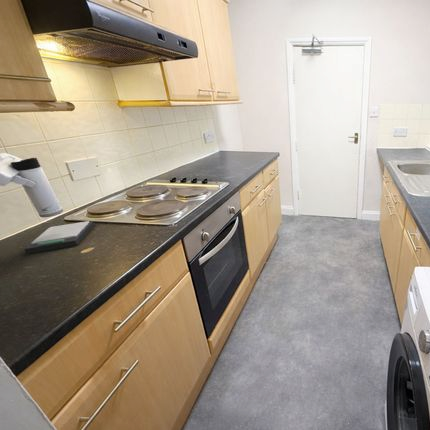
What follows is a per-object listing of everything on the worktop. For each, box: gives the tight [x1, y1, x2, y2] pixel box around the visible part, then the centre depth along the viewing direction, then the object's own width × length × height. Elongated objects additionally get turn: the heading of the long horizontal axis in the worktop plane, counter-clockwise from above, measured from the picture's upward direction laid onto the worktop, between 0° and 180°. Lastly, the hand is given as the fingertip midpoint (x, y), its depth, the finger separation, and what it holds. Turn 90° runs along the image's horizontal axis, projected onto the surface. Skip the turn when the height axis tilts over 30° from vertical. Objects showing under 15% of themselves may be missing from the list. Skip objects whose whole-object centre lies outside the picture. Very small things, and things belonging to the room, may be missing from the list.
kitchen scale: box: [24, 220, 96, 255], centre depth 97 cm, size 14×16×3 cm
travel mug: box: [11, 157, 64, 218], centre depth 90 cm, size 6×7×20 cm
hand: (38, 182), depth 89 cm, fingers closed on travel mug, 6 cm apart
